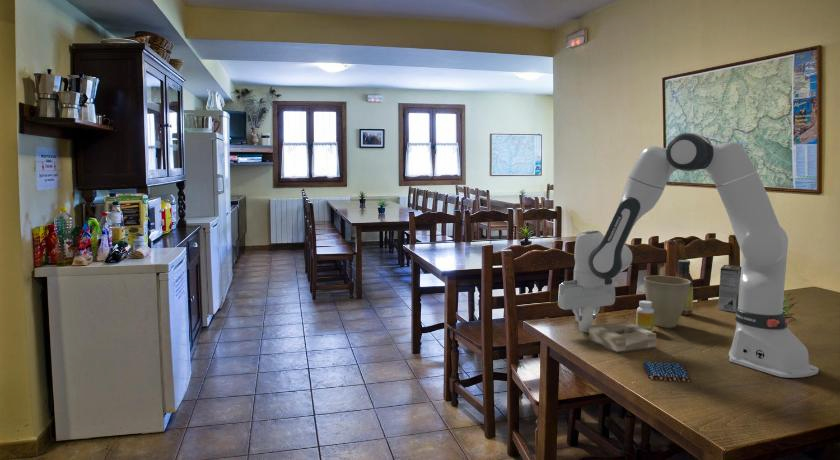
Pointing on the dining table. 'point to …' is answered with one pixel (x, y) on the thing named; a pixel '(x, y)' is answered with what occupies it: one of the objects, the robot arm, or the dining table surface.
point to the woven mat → (665, 371)
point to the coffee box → (729, 288)
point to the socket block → (622, 337)
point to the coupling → (586, 318)
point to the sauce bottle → (685, 274)
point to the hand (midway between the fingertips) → (585, 320)
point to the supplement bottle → (645, 315)
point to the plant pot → (666, 298)
